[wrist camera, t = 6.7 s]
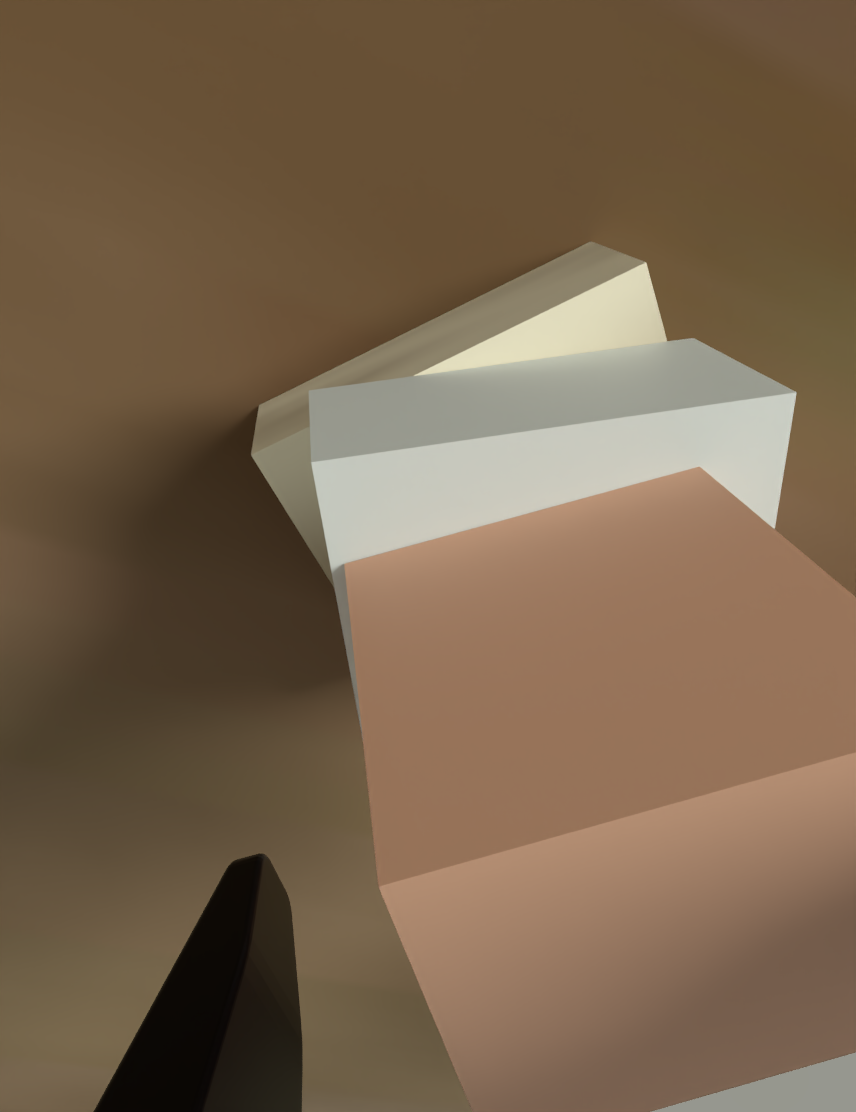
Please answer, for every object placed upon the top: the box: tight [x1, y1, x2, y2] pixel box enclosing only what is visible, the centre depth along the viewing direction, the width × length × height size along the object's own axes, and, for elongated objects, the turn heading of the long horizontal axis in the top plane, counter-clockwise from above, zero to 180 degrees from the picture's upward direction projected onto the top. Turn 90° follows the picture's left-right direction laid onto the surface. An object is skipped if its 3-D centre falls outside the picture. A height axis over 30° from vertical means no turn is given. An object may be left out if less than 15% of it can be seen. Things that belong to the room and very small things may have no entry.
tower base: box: [251, 242, 667, 589], centre depth 15 cm, size 7×7×3 cm
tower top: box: [309, 338, 797, 739], centre depth 12 cm, size 6×6×3 cm
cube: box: [344, 467, 856, 1112], centre depth 9 cm, size 5×5×5 cm
